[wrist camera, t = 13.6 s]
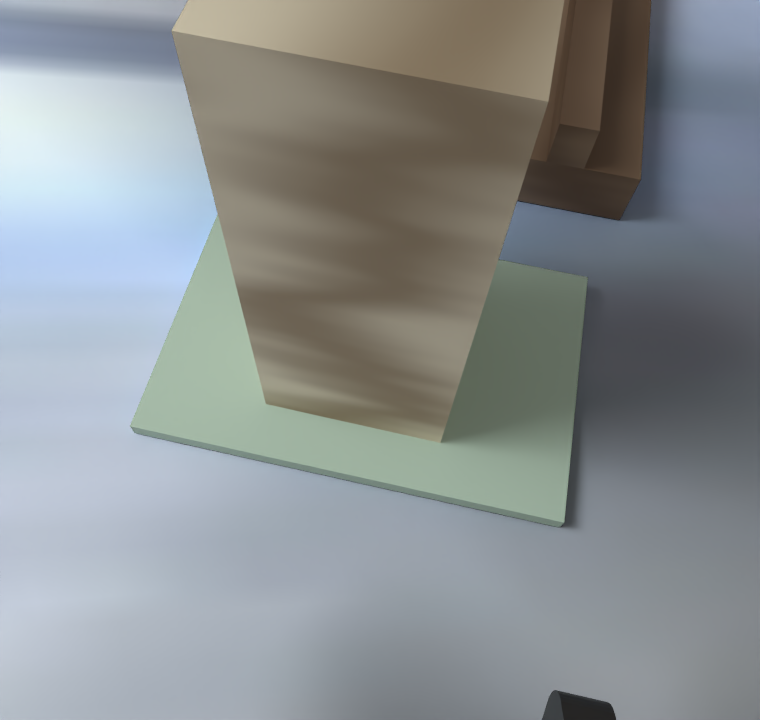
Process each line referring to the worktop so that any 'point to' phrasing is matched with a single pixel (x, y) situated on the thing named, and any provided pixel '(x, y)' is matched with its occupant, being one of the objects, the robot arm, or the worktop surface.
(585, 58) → the walnut lane
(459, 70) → the birch block
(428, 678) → the worktop surface
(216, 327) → the sage mat
